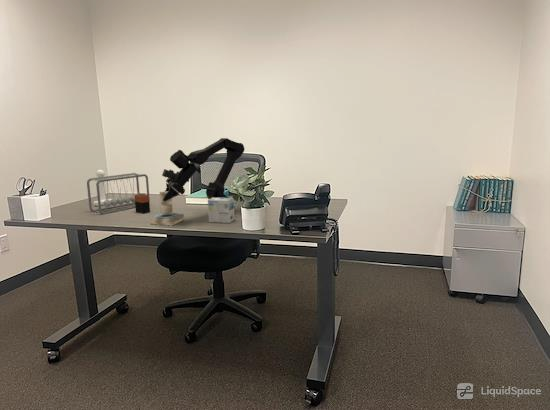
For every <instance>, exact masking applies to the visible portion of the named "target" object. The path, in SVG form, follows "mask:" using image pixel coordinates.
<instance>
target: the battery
mask: <svg viewBox="0 0 550 410" xmlns="http://www.w3.org/2000/svg"><path fill="white" fill-rule="evenodd" d="M134 195H135V204H134V206H135V208H134V209H135V212H136V213H140V214H149V213H150V212H151V205H150V203H149V198H150V194H149V195H147V194H146V192H145V193H144V192H142V193H141V192H139V193H138V194H134Z"/></svg>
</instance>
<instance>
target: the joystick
mask: <svg viewBox="0 0 550 410" xmlns="http://www.w3.org/2000/svg"><path fill="white" fill-rule="evenodd" d="M105 173H106V172H105V171H104V170H103V169H97V171H96V172H95V175H96V176H97V178H98V177H105ZM99 180H102V179H99ZM103 183H104V185H103ZM104 188H105V181H104V182H100V183H99V192H100V202H101V206H104V204H103V203H104V201H105V200H106V199H107V200H109V201H111V200H112V199H113V198H107V194H106V188H105V190H104ZM105 194H106V195H105ZM92 205H93V207H96V206H97V207H99V206H98V200H95V201H93V204H92Z"/></svg>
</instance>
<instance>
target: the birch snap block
mask: <svg viewBox="0 0 550 410" xmlns="http://www.w3.org/2000/svg"><path fill="white" fill-rule="evenodd" d="M167 192H168V191H166V192H165V191H160V192H159V201H160V214H162V215H168V214H173V213H174V212H173V198H171V199H169V200H167V201H163V199H164V197H165V195H166V194H167Z"/></svg>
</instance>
